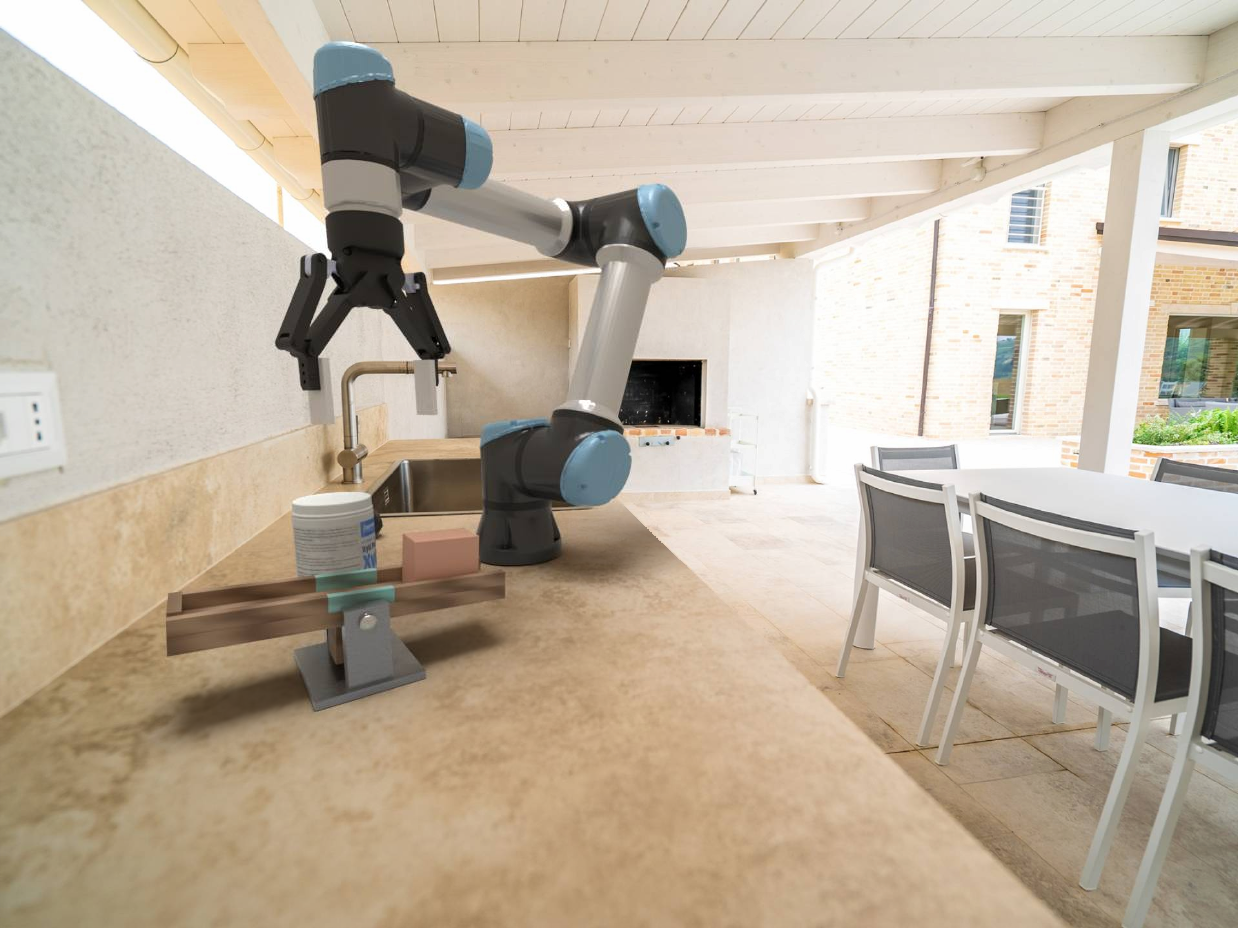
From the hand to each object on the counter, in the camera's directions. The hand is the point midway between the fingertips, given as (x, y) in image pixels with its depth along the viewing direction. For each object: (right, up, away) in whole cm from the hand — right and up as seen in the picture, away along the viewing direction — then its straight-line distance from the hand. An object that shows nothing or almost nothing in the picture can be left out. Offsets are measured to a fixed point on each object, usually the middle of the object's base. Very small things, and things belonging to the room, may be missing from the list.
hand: (379, 419), depth 64 cm
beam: (-1, -24, -4) cm, 25 cm away
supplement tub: (-10, -24, +13) cm, 29 cm away
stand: (-1, -26, -4) cm, 26 cm away
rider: (+6, -18, +1) cm, 19 cm away
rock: (-24, -20, +45) cm, 54 cm away
